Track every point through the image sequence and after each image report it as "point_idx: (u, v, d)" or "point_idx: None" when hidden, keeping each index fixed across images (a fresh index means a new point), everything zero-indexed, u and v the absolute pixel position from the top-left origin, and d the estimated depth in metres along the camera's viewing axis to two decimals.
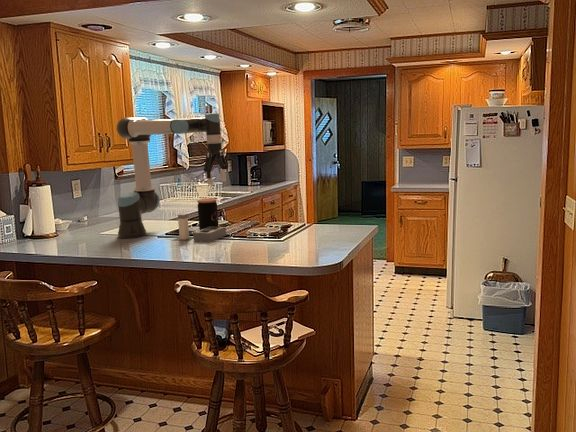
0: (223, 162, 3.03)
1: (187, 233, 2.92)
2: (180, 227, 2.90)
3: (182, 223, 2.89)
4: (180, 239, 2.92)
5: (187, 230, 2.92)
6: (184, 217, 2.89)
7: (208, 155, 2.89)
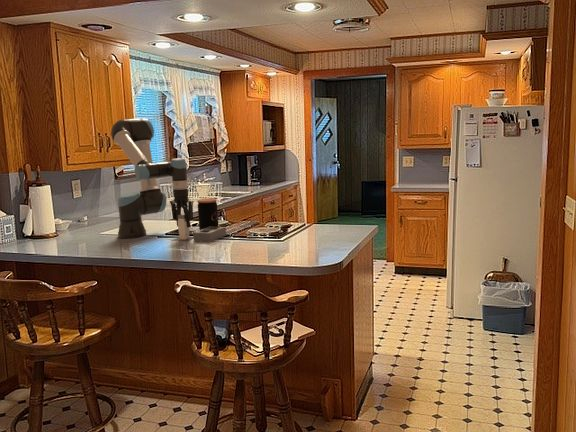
0: None
1: (187, 233, 2.92)
2: (180, 227, 2.90)
3: (182, 223, 2.89)
4: (180, 239, 2.92)
5: None
6: (184, 217, 2.89)
7: None
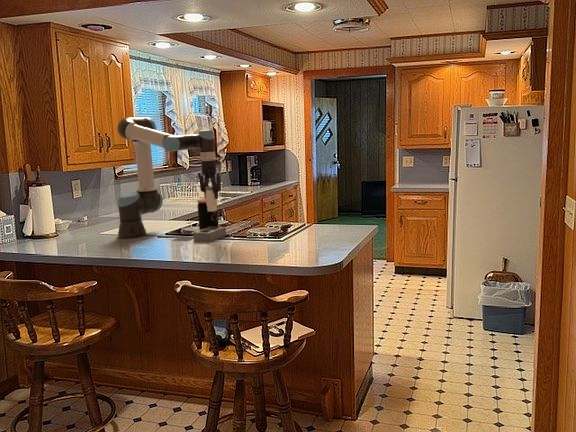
0: None
1: (215, 205, 2.91)
2: (208, 199, 2.90)
3: (210, 195, 2.89)
4: (180, 239, 2.92)
5: None
6: (212, 189, 2.89)
7: None
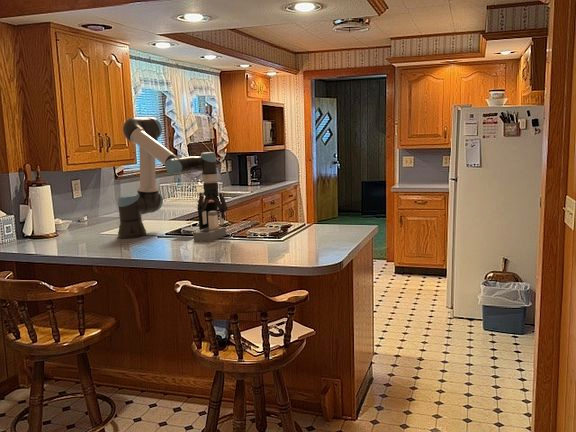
0: None
1: None
2: (210, 224, 2.93)
3: (212, 220, 2.92)
4: (180, 239, 2.92)
5: (217, 227, 2.94)
6: (214, 214, 2.91)
7: None
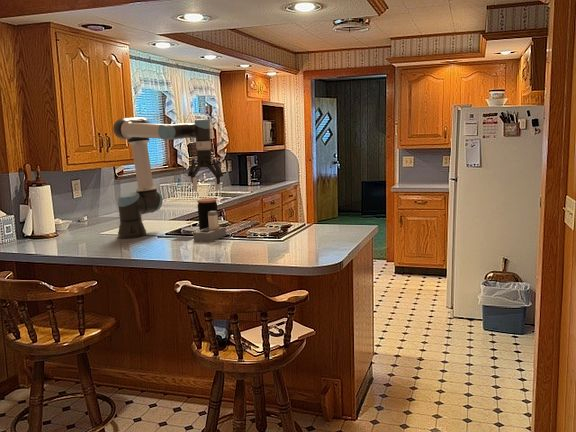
0: None
1: None
2: (210, 224, 2.93)
3: (212, 220, 2.92)
4: (180, 239, 2.92)
5: (217, 227, 2.94)
6: (214, 214, 2.91)
7: None
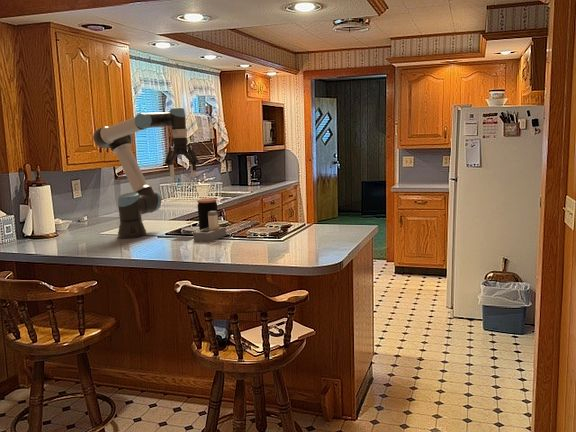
0: None
1: None
2: (210, 224, 2.93)
3: (212, 220, 2.92)
4: (180, 239, 2.92)
5: (217, 227, 2.94)
6: (214, 214, 2.91)
7: None
